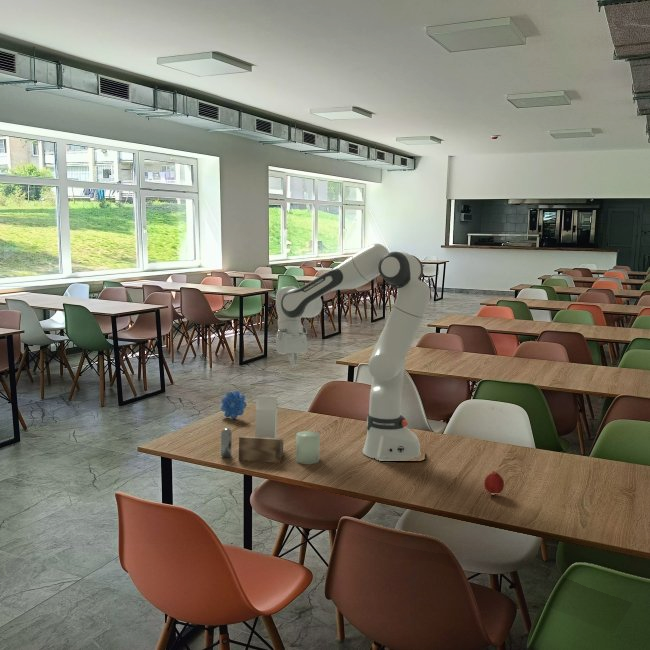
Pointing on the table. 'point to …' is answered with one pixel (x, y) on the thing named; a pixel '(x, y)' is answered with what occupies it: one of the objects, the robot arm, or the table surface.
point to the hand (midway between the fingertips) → (294, 365)
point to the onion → (494, 483)
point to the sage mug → (307, 447)
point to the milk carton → (266, 417)
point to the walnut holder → (260, 449)
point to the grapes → (233, 404)
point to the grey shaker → (226, 443)
